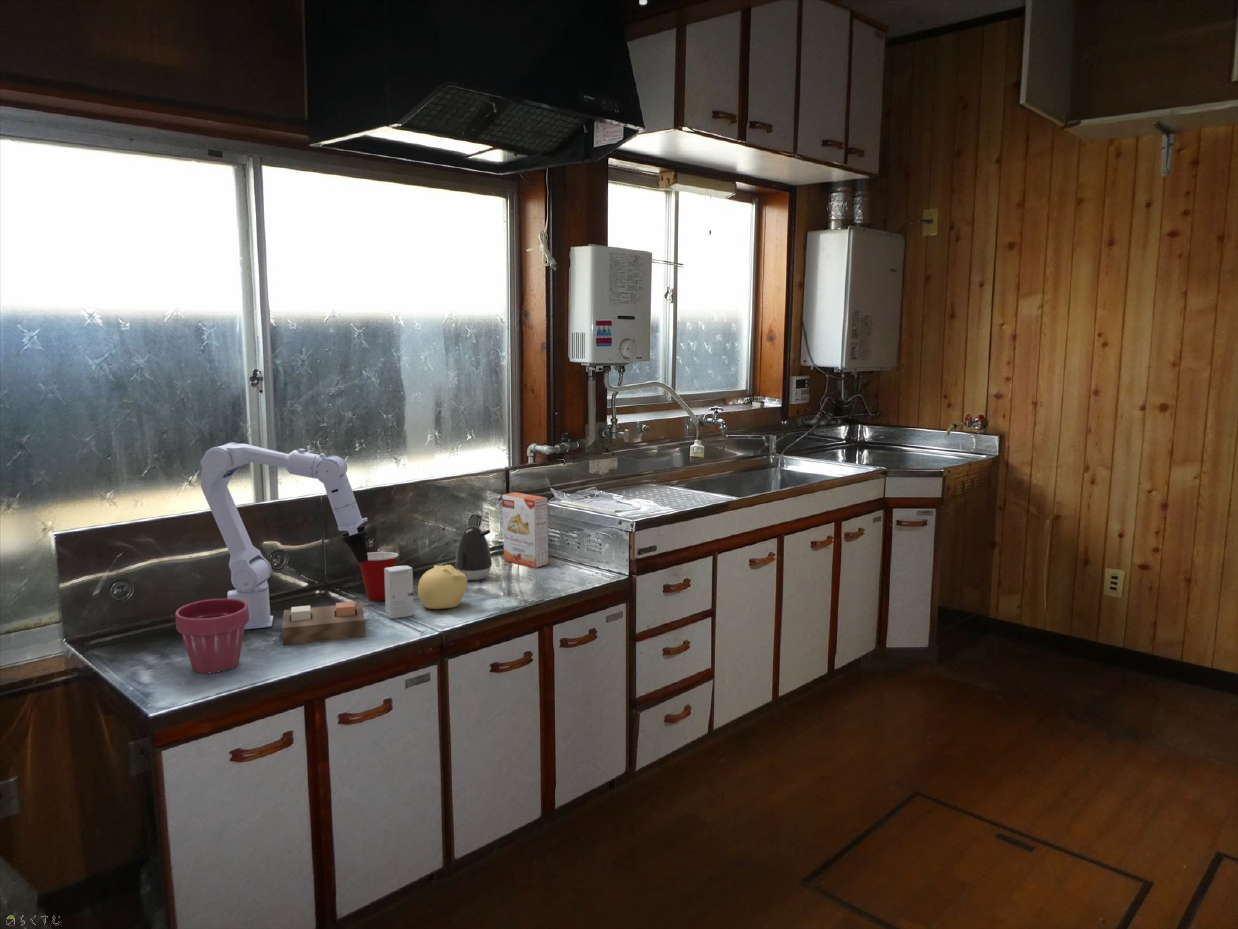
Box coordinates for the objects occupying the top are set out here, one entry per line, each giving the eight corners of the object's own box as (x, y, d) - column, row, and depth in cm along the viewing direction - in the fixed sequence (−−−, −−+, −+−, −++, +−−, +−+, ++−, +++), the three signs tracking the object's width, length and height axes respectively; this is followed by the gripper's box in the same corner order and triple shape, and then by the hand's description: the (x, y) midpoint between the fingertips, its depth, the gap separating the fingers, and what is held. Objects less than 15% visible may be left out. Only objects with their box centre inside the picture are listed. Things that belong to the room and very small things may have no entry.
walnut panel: (282, 645, 207) (281, 628, 206) (285, 626, 220) (284, 610, 220) (365, 636, 213) (364, 620, 212) (362, 618, 226) (361, 603, 225)
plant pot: (250, 673, 190) (246, 613, 188) (175, 682, 186) (171, 621, 184) (253, 650, 204) (249, 595, 202) (183, 658, 199) (178, 601, 197)
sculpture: (474, 606, 235) (473, 565, 234) (433, 616, 227) (432, 574, 226) (451, 597, 244) (449, 557, 242) (410, 606, 236) (409, 565, 234)
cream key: (291, 627, 212) (290, 612, 211) (292, 621, 216) (291, 607, 215) (310, 625, 213) (310, 610, 213) (311, 619, 217) (310, 605, 217)
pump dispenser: (483, 584, 255) (482, 530, 253) (449, 581, 258) (447, 528, 256) (498, 574, 265) (497, 523, 263) (465, 572, 268) (464, 521, 266)
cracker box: (502, 561, 280) (501, 494, 277) (517, 557, 285) (515, 491, 282) (535, 569, 271) (533, 499, 268) (549, 565, 276) (548, 496, 273)
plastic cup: (405, 592, 248) (404, 549, 246) (392, 604, 237) (390, 559, 236) (367, 591, 249) (365, 548, 247) (351, 603, 238) (349, 558, 237)
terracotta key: (336, 622, 215) (336, 608, 214) (336, 617, 219) (335, 603, 218) (355, 620, 216) (354, 606, 216) (354, 615, 220) (354, 601, 220)
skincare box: (391, 619, 225) (389, 571, 223) (385, 615, 229) (382, 567, 227) (415, 615, 228) (413, 568, 226) (408, 610, 232) (406, 564, 230)
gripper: (362, 503, 212) (381, 557, 214) (360, 497, 225) (378, 549, 227) (331, 513, 210) (351, 568, 212) (331, 507, 224) (349, 559, 225)
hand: (363, 559), depth 219 cm, fingers open, 7 cm apart
